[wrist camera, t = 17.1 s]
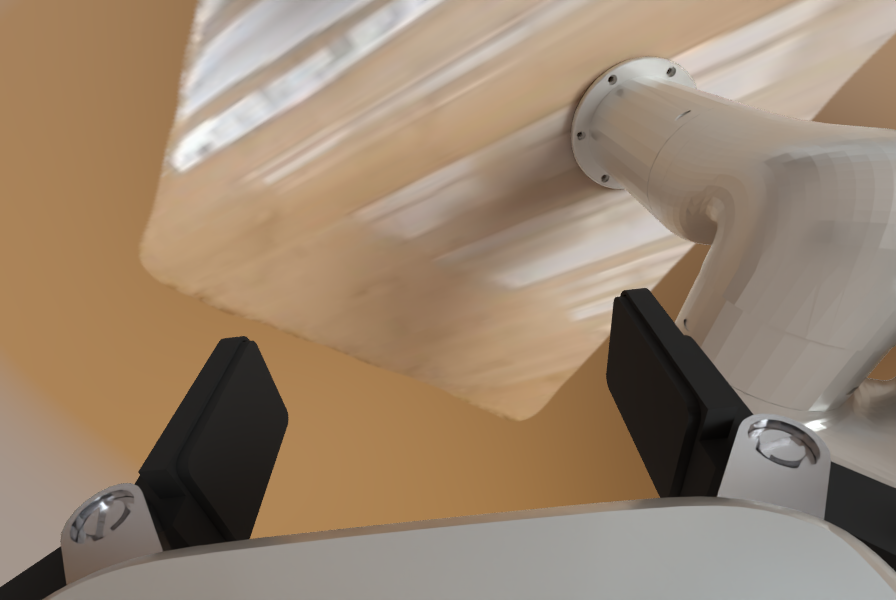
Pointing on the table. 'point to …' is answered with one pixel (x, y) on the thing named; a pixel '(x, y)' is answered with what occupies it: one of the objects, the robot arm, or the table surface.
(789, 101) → the table surface
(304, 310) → the table surface
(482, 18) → the table surface
